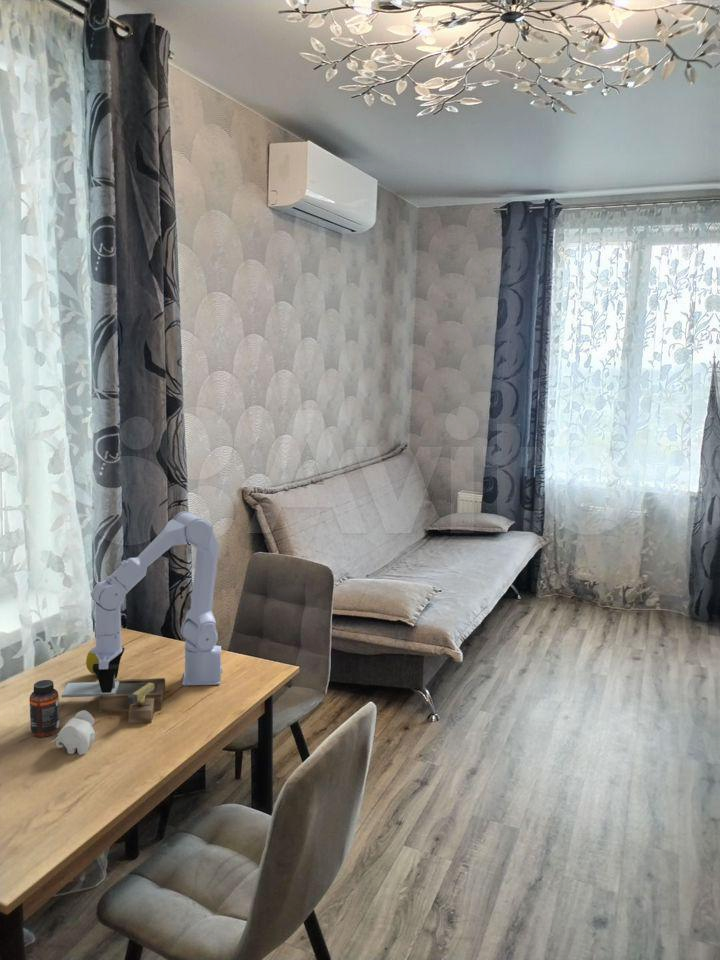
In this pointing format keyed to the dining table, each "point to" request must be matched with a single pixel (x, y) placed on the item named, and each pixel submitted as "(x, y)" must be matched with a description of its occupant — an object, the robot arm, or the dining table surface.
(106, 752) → the dining table surface
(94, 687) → the lid
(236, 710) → the dining table surface
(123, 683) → the case
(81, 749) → the elephant figurine
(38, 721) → the supplement bottle
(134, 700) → the lever
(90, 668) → the lemon
